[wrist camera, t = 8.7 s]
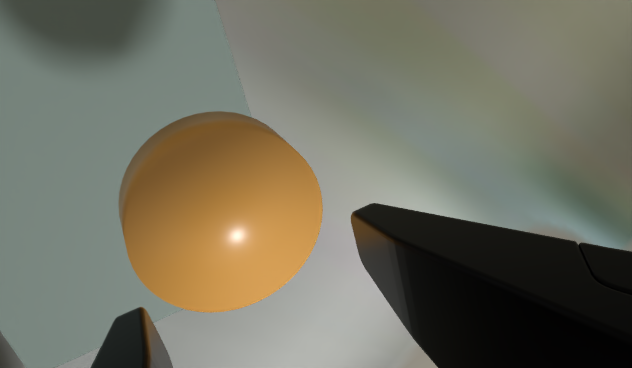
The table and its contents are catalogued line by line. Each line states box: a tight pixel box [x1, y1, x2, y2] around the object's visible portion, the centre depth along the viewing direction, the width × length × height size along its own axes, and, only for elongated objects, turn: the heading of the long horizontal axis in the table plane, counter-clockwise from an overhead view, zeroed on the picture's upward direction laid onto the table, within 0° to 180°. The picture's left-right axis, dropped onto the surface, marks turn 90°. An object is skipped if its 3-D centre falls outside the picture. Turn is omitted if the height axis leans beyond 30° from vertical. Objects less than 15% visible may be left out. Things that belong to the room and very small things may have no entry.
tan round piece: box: [118, 111, 323, 312], centre depth 11 cm, size 4×4×2 cm
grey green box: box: [0, 0, 252, 368], centre depth 16 cm, size 10×8×5 cm
